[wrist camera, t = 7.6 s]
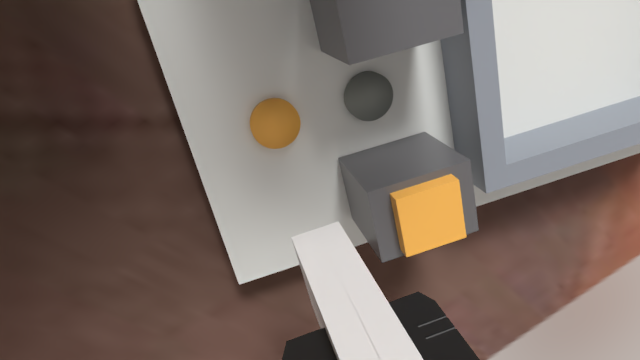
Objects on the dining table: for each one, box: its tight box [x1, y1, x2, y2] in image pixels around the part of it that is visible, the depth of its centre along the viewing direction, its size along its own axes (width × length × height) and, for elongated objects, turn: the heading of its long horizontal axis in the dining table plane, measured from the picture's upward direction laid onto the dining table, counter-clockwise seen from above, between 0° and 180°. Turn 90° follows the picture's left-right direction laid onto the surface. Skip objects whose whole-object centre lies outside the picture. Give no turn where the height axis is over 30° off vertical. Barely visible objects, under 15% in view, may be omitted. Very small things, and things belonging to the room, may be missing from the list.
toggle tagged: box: [338, 132, 479, 263], centre depth 20 cm, size 4×3×5 cm
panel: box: [137, 0, 640, 285], centre depth 22 cm, size 23×14×2 cm, turn 104°
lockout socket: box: [440, 0, 640, 194], centre depth 20 cm, size 12×12×2 cm
